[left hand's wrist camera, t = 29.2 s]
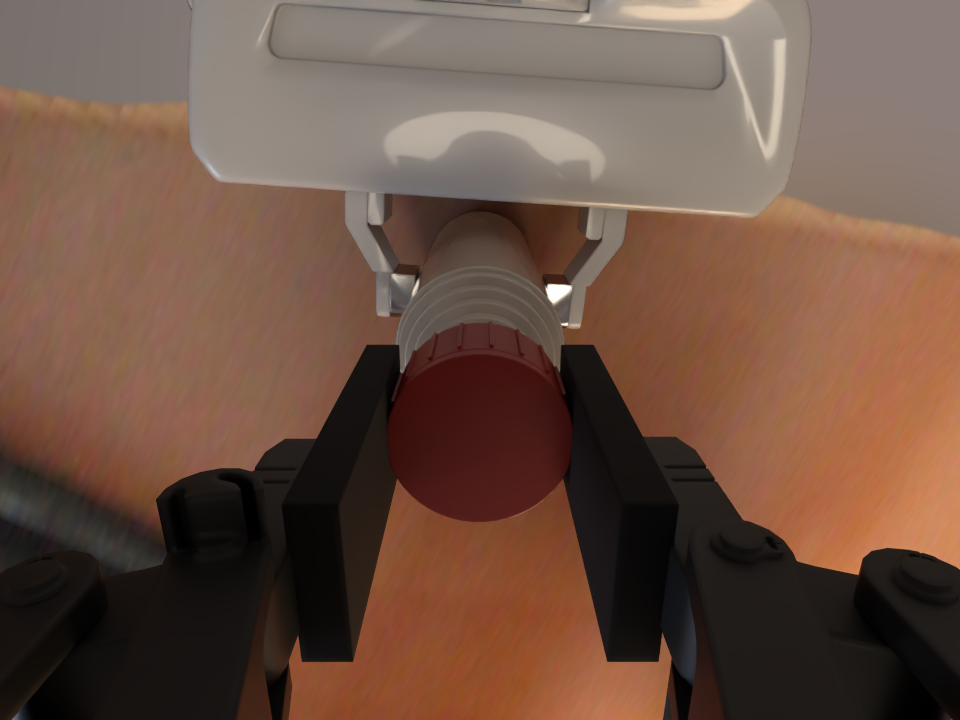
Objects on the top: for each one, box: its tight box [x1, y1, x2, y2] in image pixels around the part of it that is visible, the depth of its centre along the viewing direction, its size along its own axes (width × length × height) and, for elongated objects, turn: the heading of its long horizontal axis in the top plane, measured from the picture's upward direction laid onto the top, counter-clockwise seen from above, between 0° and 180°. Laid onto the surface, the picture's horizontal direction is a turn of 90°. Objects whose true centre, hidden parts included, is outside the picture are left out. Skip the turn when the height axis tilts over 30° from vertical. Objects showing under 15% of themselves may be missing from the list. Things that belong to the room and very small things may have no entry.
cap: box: [387, 321, 573, 522], centre depth 13 cm, size 4×4×2 cm
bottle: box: [396, 211, 565, 373], centre depth 22 cm, size 5×5×18 cm
